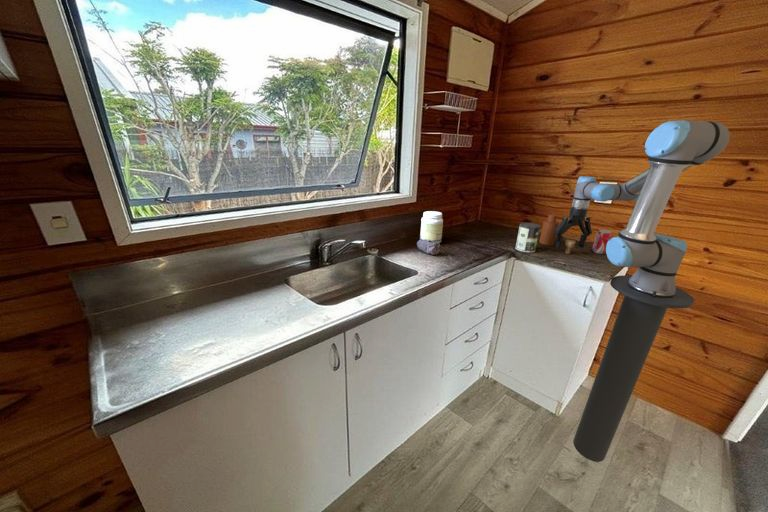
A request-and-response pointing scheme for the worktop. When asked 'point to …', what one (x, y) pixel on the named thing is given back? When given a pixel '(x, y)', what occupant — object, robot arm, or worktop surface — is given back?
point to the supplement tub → (431, 226)
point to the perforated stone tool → (428, 246)
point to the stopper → (569, 245)
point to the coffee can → (527, 237)
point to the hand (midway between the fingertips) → (569, 247)
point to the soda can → (601, 241)
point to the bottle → (549, 230)
